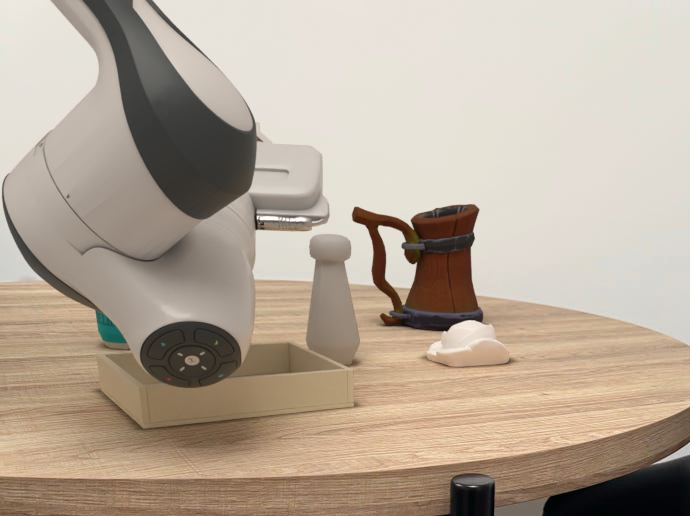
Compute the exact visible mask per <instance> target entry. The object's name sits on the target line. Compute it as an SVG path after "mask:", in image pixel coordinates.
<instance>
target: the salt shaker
mask: <svg viewBox="0 0 690 516" xmlns="http://www.w3.org/2000/svg"><path fill="white" fill-rule="evenodd" d="M308 245H309V246H308V248H309V256H310V257H311V258H312V259H314V269H313V279H312V287H311V295H310V302H309V311H308V318H307V319H308V320H307V326H306V327H307V328H306V334H305V335H306V336H305V341H306V342H305V343H306V345H307V346H306V347H307V348H308V349H310V350H312V351H314V352H316V353H318V354H321V355H323V356H325V357H327V358H329V359H331V360H334V361H336V362H338V363H340V364H342V365H344V366H350V365H352V363H353V361H354V358H355V355H356V353H357V351H358V349H359V347H360V342H361V338H360V337H361V336H360V332H359V326H358V322H357V317H356V313H355V308H354V303H353V298H352V292H351V289H350V288H351V287H350V283H349V277H348V273H347V268H346V263H345V261H348V260H349V259H351V256H352V243H351V240H350V239H349V238H348V237H347V236H345V235H341V234H336V233H335V234H334V233H320V234H319V233H317V234H316V235H313V236H311V238H310V240H309V244H308Z"/></svg>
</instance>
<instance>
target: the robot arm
mask: <svg viewBox="0 0 690 516" xmlns="http://www.w3.org/2000/svg"><path fill="white" fill-rule="evenodd" d="M49 1H50V2H51V3H52V4H53V5H54V7H56V9H57V10H58V11H59V12H60V13H61V14H62V16H63V17H64V18H65V19H66V20H67V21H68V22H69V23H70V24H71V25H72V27H73V28H74V29H75V30H76V31H77V33H78V34H79V35H80V36H81V37H82V38H83V39H84V40H85V42H87V44H88V45H89V46H90V48H91V49H92V51H94V53H95V55H96V58H97V64H98V74H97V80H96V82H95V84H94V86H93V87H92V88H91V90H89V91H88V93H86V94H85V96H84V97H83V98H82V99H81V100H80V101H79V102H78V103H77V104H76V105H75V106H74V107H73V108H72V109H71V110H70V111H69V112H68V113H67V114H66V115H65V116H64V118H62V119H61V121H60V122H59V123H57V124H56V126H54V128H53V129H50V130H49V131H48V132H46V134H45V135H43V137H41V139H40V140H39V141H37V143H35V145H34V146H33V147H32V148H31V149H30V150H29V151H28V152H27V153H26V154H25V155H24V156H23V158H21V159H20V161H19V162H18V163H17V164H16V165H15V166H14V167H13V168H12V170H11V171H10V172H9V173H7V174H6V176H5V177H4V179H3V181H2V184H1V185H2V186H1V200H2V209H3V214H4V217H5V221H6V224H7V227H8V229H9V232H10V234H11V236H12V238H13V241H14V243H15V245H16V247H17V249H18V250H19V252H20V254H21V256H22V257H23V259H24V261H25V263H26V264H27V265H28V266H29V267H30V269H31V270H32V271H33V272H34V273H35V274H36V275H37V276H38V277H40V279H42V280H43V281H44V282H46V283H47V284H48V285H50V286H51V287H52V288H53V289H55V290H56V291H57V292H58V293H61V294H62V295H64V296H65V297H67V298H68V299H71V300H72V301H74V302H77V303H79V304H81V305H82V306H84V307H87V308H89V309H93V310H94V311H95V310H96V311H98V312H100V313H103V314H105V315H106V316H107V317H108V318H109V319H110V320H111V321H112V322H113V323H114V324H115V326H116V327H117V328H118V329H119V331H120V332H121V333H122V335H123V336H124V338H125V340H126V341H127V343H128V345H129V347H130V349H131V350H130V352H131V351H132V354H133V355H134V357H135V359H136V361H137V362H138V364H139V365H140V366H141V368H142V369H143V370H144V371H145V372H146V373H148V374H149V375H150V376H152V377H153V378H155V379H156V380H158V381H160V382H162V383H164V384H167V385H170V386H174V387H180V388H199V387H205V386H209V385H212V384H215V383H218V382H220V381H222V380H223V379H225V378H227V377H228V376H230V375H231V374H233V373H234V372H235V371H236V370H237V369H238V368H239V367H240V366H241V364H242V363H243V361H244V359H245V357H246V355H247V353H248V350H249V347H250V344H252V340H253V334H254V330H255V319H256V300H257V298H256V297H257V296H256V292H257V291H256V280H255V277H254V273H253V270H254V267H255V264H256V256H257V255H256V241H257V240H256V236H257V235H256V234H257V231H271V232H272V231H274V232H310V231H312V230H313V227H319V226H321V225H326V224H327V223H328V221H329V219H330V217H331V215H330V214H331V213H330V203H329V201H328V199H327V198H326V197H325V196H324V167H323V166H324V165H323V163H324V162H323V154H322V153H321V152H320V150H318V149H316V148H315V147H313V146H312V145H308V144H307V145H306V144H287V143H273V141H272V140H270V138H269V137H268V136H266V135H265V134H264V133H263V132H262V131H261V126H260V121H259V122H258V121H257V122H256V119H255V117H254V114H253V112H252V110H251V108H250V106H249V104H248V103H247V102H246V100H245V98H244V97H243V96H242V94H241V93H240V91H239V90H238V89H237V88H236V86H235V85H234V84H233V83H232V82H231V80H230V79H229V78H228V77H227V76H226V75H225V73H224V72H223V71H222V70H221V69H220V68H219V67H218V66H217V65H216V64H215V63H214V62H213V61H212V59H210V58H209V57H208V56H207V54H205V53H204V52H203V50H201V49H200V48H199V47H198V46H197V45H196V44H195V43H194V42H193V41H192V40H191V39H190V38H189V37H188V36H187V35H186V34H185V33H184V32H183V31H181V29H180V28H179V27H177V25H176V24H175V23H174V22H173V21H172V20H171V19H170V18H169V17H168V16H167V15H166V14H165V12H163V10H162V9H161V8H160V7H159V6H158V5H157V4H156V2H154V0H49ZM96 311H95V312H96Z"/></svg>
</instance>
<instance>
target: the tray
mask: <svg viewBox="0 0 690 516" xmlns="http://www.w3.org/2000/svg"><path fill="white" fill-rule="evenodd" d="M95 355H96V362H97V363H96V364H97V369H98V377H99V378H98V379H99V384H100V392H102V393H103V394H104V395H106V396H107V397H108V398H109V400H111V401H112V403H114V404H115V405H117V406H118V407H119V408H120V409H121V410H122V411H123V412H124V413H125V414H127V415H128V416H129V417H130V418H131V419H132V420H133V421H134V422H136V423H137V424H138V425H139V426H140V427H141V428H142V429H144V430H146V429H154V428H155V429H156V428H165V427H174V426H183V425H184V426H185V425H194V424H203V423H211V422H220V421H221V422H222V421H233V420H240V419H250V418H259V417H268V416H278V415H288V414H298V413H305V412H306V413H307V412H315V411H316V412H317V411H324V410H334V409H345V408H354V407H355V397H354V390H355V389H354V369H353V368H352V367H351V368H350V367H348V366H347V365H345V366H344V365H342V364H340V363H338V362H336V361H334V360H331V359H329V358H327V357H325V356H323V355H321V354H318V353H316V352H314V351H312V350H310V349H309V348H308V347H305V346H303V345H301V344H299V343H296V342H295V341H292V340H287V341H271V342H269V341H268V342H255V343H251V344H250V347H249V350H248V353H247V355H246V357H245V359H244V361H243V363H242V364H241V366H240V367H239V368H238V369H237V370H236V371H235V372H234V373H233V374H231V375H230V376H228V377H227V378H225V379H223V380H222V381H220V382H218V383H215V384H212V385H209V386H205V387H199V388H180V387H174V386H170V385H167V384H164V383H162V382H160V381H158V380H156V379H155V378H153V377H152V376H150V375H149V374H148V373H146V372H145V371H144V370H143V369H142V368H141V366H140V365H139V364H138V362H137V361H136V359H135V357H134V355H133V354H132V351H131V350H130V351H119V352H104V353H96V354H95Z"/></svg>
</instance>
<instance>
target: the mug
mask: <svg viewBox="0 0 690 516" xmlns="http://www.w3.org/2000/svg"><path fill="white" fill-rule="evenodd" d="M479 213H480V208H479V207H478V206H477V205H476V204H474V203H468V204H451V205H447V206H443V207H435V208H434V209H431V210H428V211H423V212H422V211H421V212H419V213H416V214H414V215H413V216H412V217H411V218H410V223H411V225H412V226H411V225H410V224H408V222H406V221H404V220H402V219H400V218H399V217H396V216H392V215H387V214H381V213H376V212H373V211H370V210H367V209H364V208H362V207H360V206H354V207H353V210H352V213H351V219H352V220H351V221H352V222H354V223H356V224H359V225H363V226H365V228H366V230H367V231H368V235H369V237H370V240H371V243H372V244H371V245H372V264H371V276H372V277H371V278H372V283H373V285H375V287H376V288H377V289H378V290H379V291H380V292H381V293H383V294H384V295H386V296H387V297H388V298H389V299H390V300H391V304H392V307H393V310H389V312H388V315H387V314H386V313H384V312H382V313H380V314H379V318H380V319H381V321H382V322H383V323H384V324H385V325H391V326H394V325H399V324H403V325H404V326H407V327H409V328H410V327H411V328H414V329H416V330H418V329H419V330H431V331H448V330H449V329H450V328H451V327H452V326H453V325H455V324H458V323H461V322H464V321H468V320H472V321H473V320H475V321H477V322H480V323H483V321H484V311H483V309H482V308H481V307H480V306H479V303H478V299H477V296H476V292H475V287H474V283H473V267H472V247H473V245H474V242H475V240H476V236H475V233H474V230H475V225H476V221H477V220H478V215H479ZM379 226H382V227H386V228H387V227H388V228H392V229H394V230H397V231H399V232H401V233H402V235H403V238H404V240H405V241H404V242H402V243H401V246H400V247H401V249H402V250H403V256H404V257H405V260H406V261H407V263H409V264H410V265H416V266H415V273H414V278H413V281H412V284H411V287H410V289H409V292H408V294H407V297H406V300H405V303H404V304H403V301H402V299H401V298H400V295H399V293H398V292H397V291H396V289H395V288H394V287H393V285H391V284H390V282H389V281H387V279H386V270H387V251H386V245H385V242H384V240H383V238H382V236H381V234H380V231H379Z"/></svg>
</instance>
